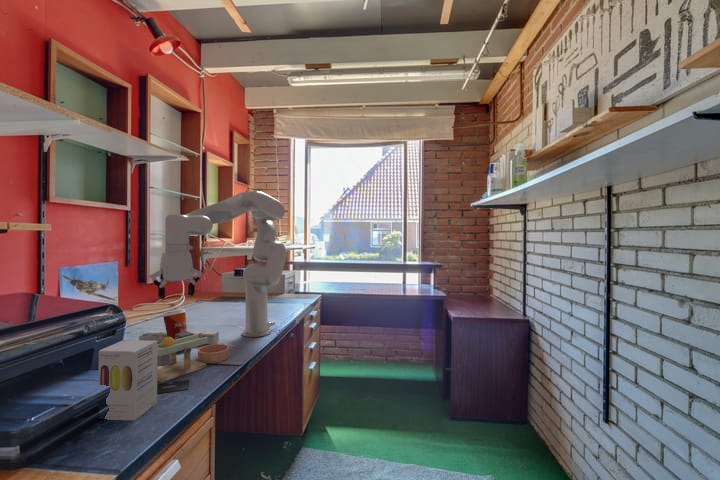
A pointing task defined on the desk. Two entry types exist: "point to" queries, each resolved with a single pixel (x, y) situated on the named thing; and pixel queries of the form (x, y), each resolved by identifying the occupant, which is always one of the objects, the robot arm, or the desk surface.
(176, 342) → the lever tray
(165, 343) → the ball
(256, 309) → the robot arm
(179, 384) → the solid state drive
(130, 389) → the supplement box
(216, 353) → the bowl
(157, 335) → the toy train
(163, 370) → the stand
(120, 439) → the desk surface
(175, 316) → the coffee cup
